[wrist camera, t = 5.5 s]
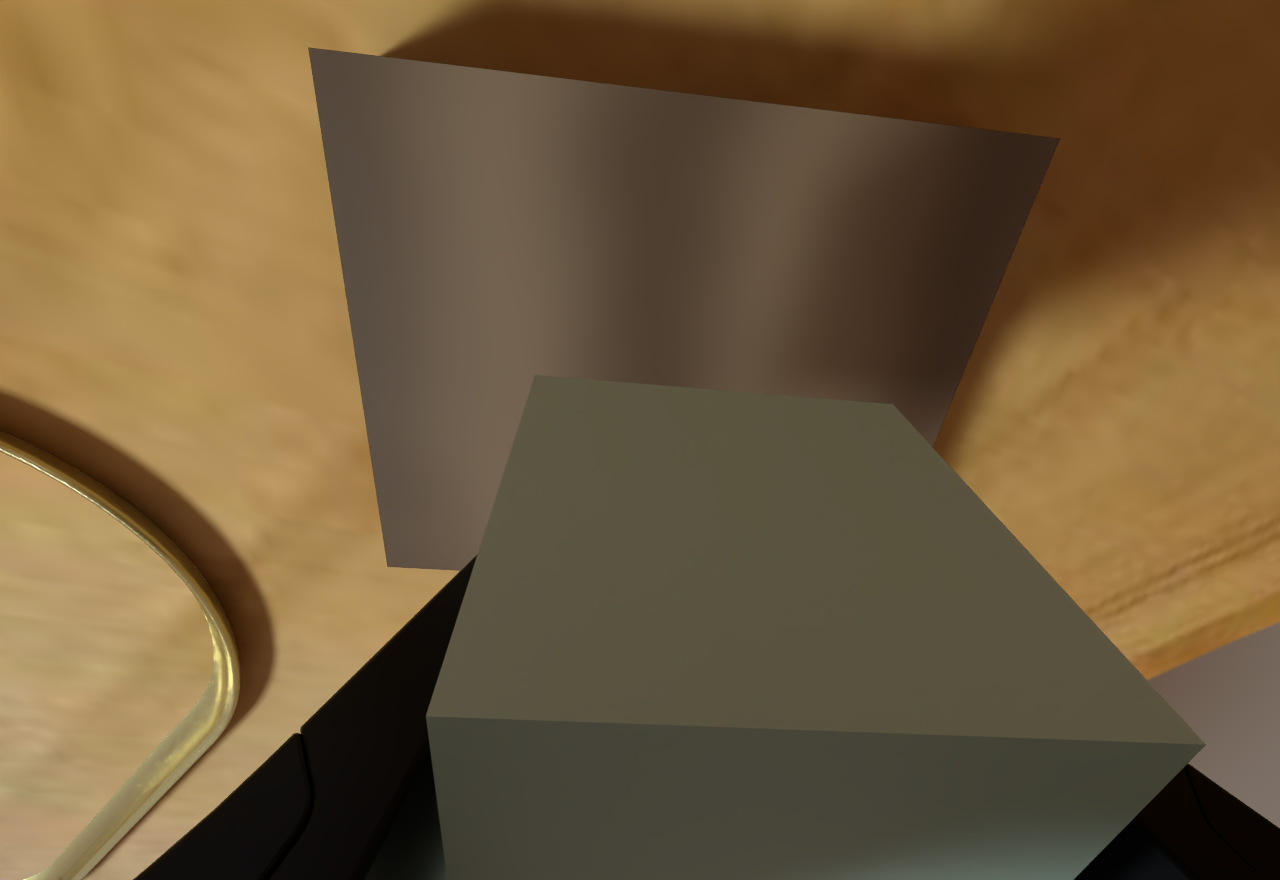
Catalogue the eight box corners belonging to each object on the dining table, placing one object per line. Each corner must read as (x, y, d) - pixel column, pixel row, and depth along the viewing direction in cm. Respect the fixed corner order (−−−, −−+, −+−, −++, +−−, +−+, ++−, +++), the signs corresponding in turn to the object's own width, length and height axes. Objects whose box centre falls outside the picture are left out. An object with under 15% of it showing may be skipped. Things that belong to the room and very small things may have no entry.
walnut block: (976, 132, 14) (1059, 138, 11) (839, 528, 20) (872, 592, 17) (371, 60, 13) (308, 47, 10) (420, 502, 19) (387, 566, 16)
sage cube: (892, 404, 8) (1205, 743, 4) (805, 647, 11) (934, 1020, 6) (534, 375, 8) (426, 716, 3) (531, 634, 10) (466, 1022, 6)
